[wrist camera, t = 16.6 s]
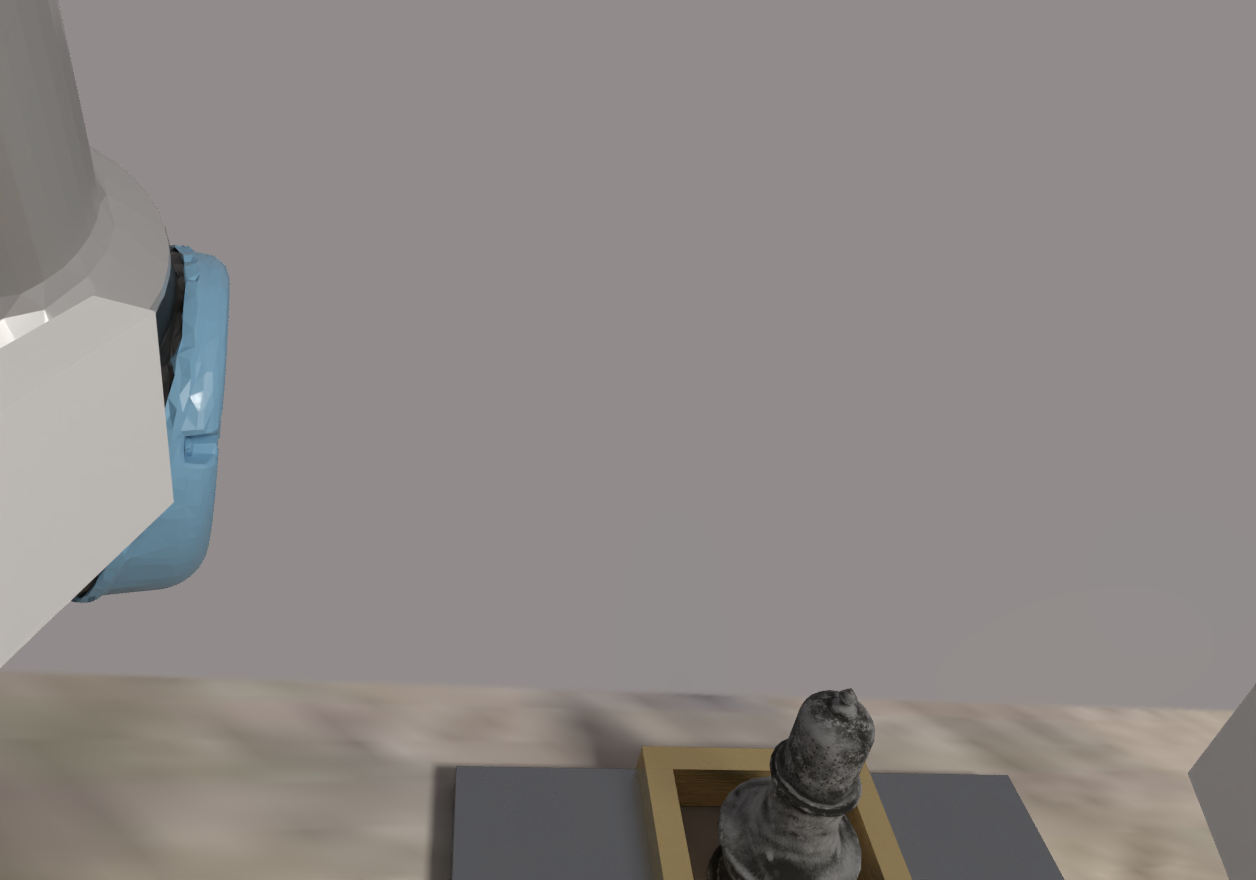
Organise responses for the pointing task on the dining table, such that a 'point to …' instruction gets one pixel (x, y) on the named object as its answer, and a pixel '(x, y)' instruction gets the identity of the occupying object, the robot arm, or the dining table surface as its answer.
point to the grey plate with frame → (698, 776)
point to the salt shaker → (800, 800)
